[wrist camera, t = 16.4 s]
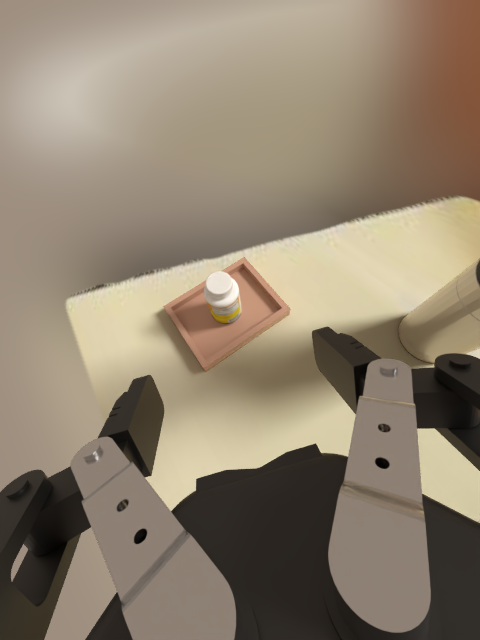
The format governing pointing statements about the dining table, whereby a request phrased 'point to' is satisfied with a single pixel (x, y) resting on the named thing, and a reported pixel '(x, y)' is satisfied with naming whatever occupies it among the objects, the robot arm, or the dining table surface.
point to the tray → (223, 340)
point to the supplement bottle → (223, 298)
